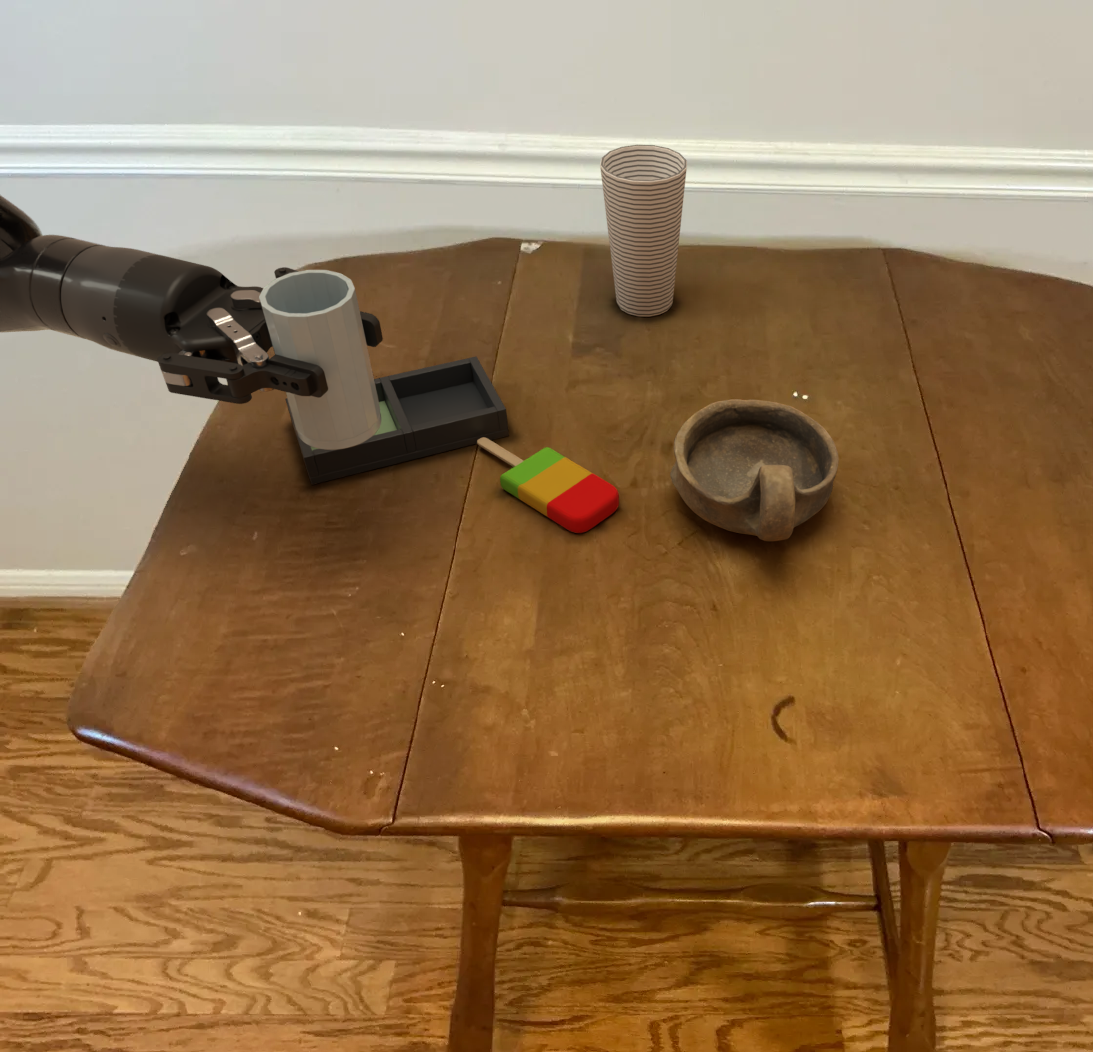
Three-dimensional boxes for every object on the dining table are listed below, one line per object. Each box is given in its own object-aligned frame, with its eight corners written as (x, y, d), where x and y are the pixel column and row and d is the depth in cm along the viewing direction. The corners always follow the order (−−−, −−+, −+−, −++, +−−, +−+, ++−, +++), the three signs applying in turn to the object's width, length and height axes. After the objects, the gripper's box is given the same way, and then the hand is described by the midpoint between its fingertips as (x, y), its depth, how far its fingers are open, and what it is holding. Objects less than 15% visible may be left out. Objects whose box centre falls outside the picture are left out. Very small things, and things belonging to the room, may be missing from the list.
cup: (616, 278, 118) (612, 140, 108) (691, 288, 117) (695, 149, 106) (595, 318, 112) (589, 175, 101) (675, 328, 111) (677, 185, 100)
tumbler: (304, 458, 76) (267, 323, 68) (290, 411, 80) (253, 279, 72) (390, 438, 78) (362, 305, 70) (371, 393, 82) (343, 263, 74)
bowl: (816, 448, 97) (828, 354, 90) (855, 587, 84) (872, 490, 77) (664, 453, 95) (665, 359, 89) (679, 595, 83) (681, 497, 76)
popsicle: (579, 540, 87) (578, 523, 86) (456, 462, 94) (454, 445, 92) (625, 506, 90) (625, 489, 89) (504, 433, 97) (502, 417, 96)
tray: (311, 485, 91) (303, 457, 89) (292, 425, 97) (285, 398, 95) (509, 436, 97) (506, 408, 95) (480, 382, 103) (476, 356, 101)
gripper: (56, 309, 70) (274, 366, 66) (202, 215, 80) (399, 260, 76) (96, 403, 75) (301, 460, 71) (229, 304, 85) (415, 349, 81)
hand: (351, 356), depth 74 cm, fingers closed on tumbler, 6 cm apart
